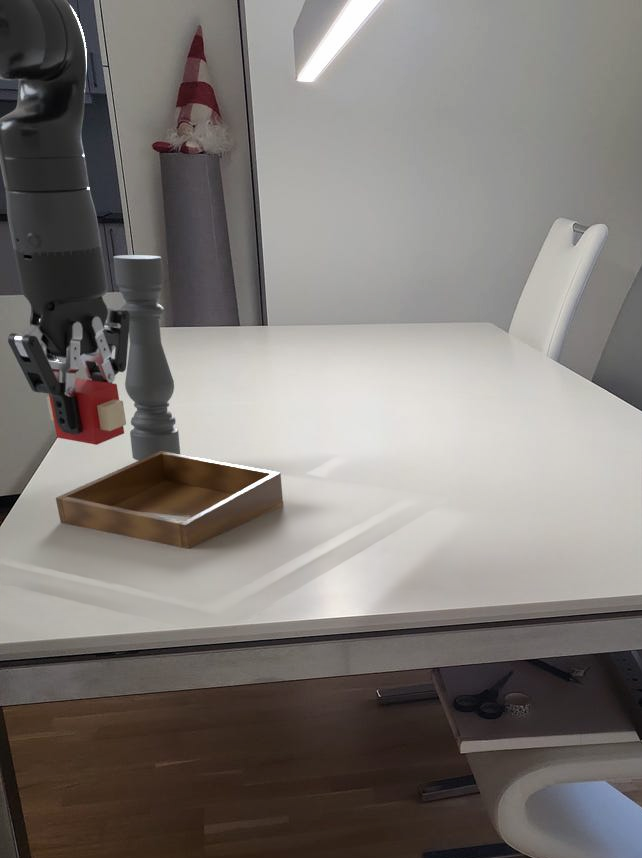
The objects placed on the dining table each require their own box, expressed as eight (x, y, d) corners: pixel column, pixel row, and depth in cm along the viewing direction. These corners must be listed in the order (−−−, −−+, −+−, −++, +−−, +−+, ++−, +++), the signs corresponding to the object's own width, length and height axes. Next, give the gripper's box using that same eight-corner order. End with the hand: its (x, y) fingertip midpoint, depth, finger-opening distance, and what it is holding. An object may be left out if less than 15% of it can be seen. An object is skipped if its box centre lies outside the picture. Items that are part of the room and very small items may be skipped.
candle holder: (190, 453, 141) (173, 256, 130) (163, 464, 135) (143, 260, 125) (150, 448, 142) (131, 253, 132) (122, 458, 137) (100, 257, 127)
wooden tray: (62, 533, 116) (55, 497, 114) (165, 483, 131) (160, 450, 128) (190, 562, 110) (185, 525, 108) (283, 506, 124) (280, 472, 122)
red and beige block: (47, 436, 103) (37, 385, 100) (76, 425, 106) (67, 376, 104) (106, 446, 100) (98, 395, 98) (134, 435, 104) (126, 385, 101)
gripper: (80, 229, 101) (108, 402, 110) (-37, 249, 90) (4, 441, 98) (142, 235, 99) (166, 412, 107) (29, 256, 87) (66, 453, 96)
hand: (88, 425), depth 103 cm, fingers closed on red and beige block, 4 cm apart
